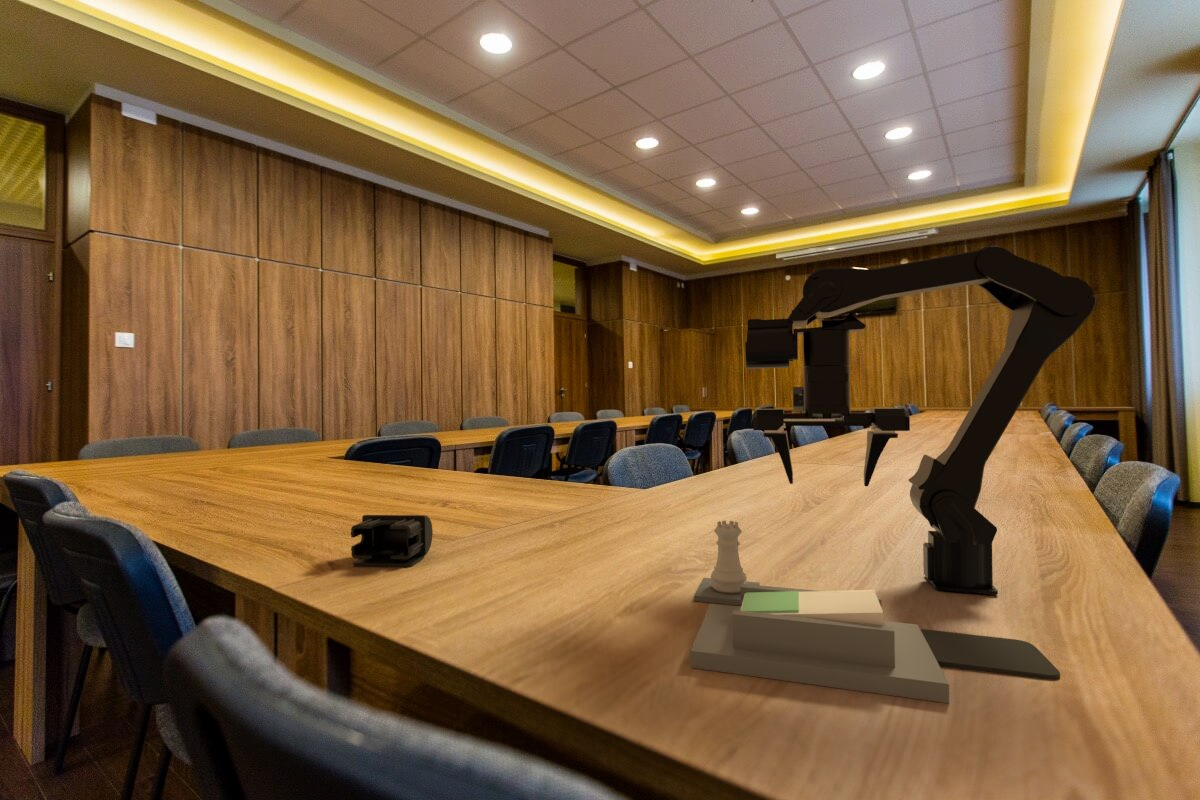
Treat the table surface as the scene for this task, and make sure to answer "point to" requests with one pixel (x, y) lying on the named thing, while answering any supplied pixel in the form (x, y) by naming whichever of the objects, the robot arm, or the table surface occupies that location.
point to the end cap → (391, 540)
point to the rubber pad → (717, 594)
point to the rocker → (819, 605)
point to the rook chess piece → (728, 560)
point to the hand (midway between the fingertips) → (827, 484)
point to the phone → (989, 655)
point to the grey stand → (819, 651)
